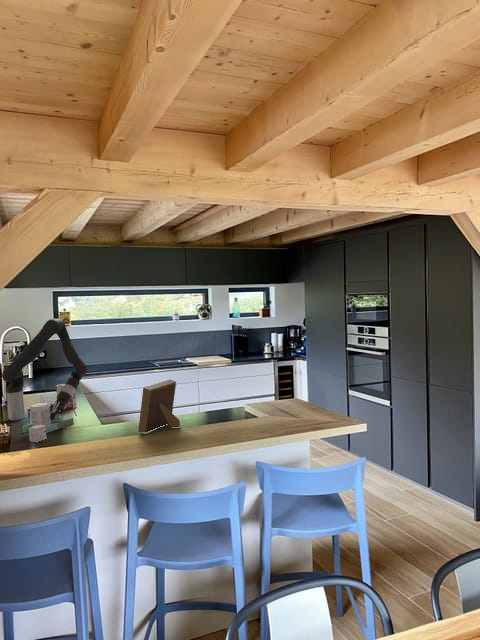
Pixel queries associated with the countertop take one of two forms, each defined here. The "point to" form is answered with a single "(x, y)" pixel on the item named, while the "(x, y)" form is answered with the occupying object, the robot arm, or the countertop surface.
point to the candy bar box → (72, 401)
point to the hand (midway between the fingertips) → (50, 419)
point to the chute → (52, 425)
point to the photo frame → (158, 406)
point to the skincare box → (37, 433)
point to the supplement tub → (40, 414)
